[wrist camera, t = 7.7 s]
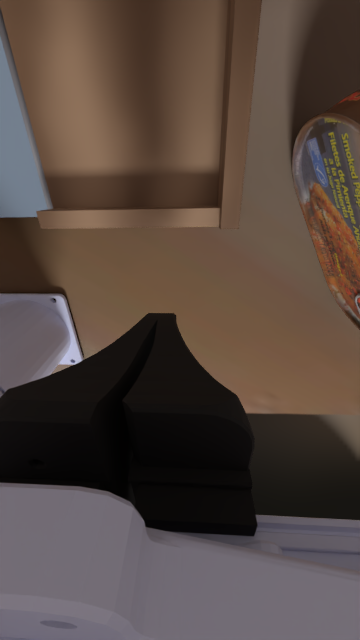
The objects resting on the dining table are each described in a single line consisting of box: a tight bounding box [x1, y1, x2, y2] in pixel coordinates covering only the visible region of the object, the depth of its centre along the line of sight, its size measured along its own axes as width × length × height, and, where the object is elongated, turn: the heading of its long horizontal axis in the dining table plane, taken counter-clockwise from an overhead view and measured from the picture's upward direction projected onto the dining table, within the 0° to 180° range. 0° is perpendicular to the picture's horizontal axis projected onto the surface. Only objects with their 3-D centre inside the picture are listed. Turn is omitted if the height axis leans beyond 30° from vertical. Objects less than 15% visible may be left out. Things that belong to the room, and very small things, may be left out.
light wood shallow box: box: [0, 0, 262, 229], centre depth 12 cm, size 12×14×5 cm
